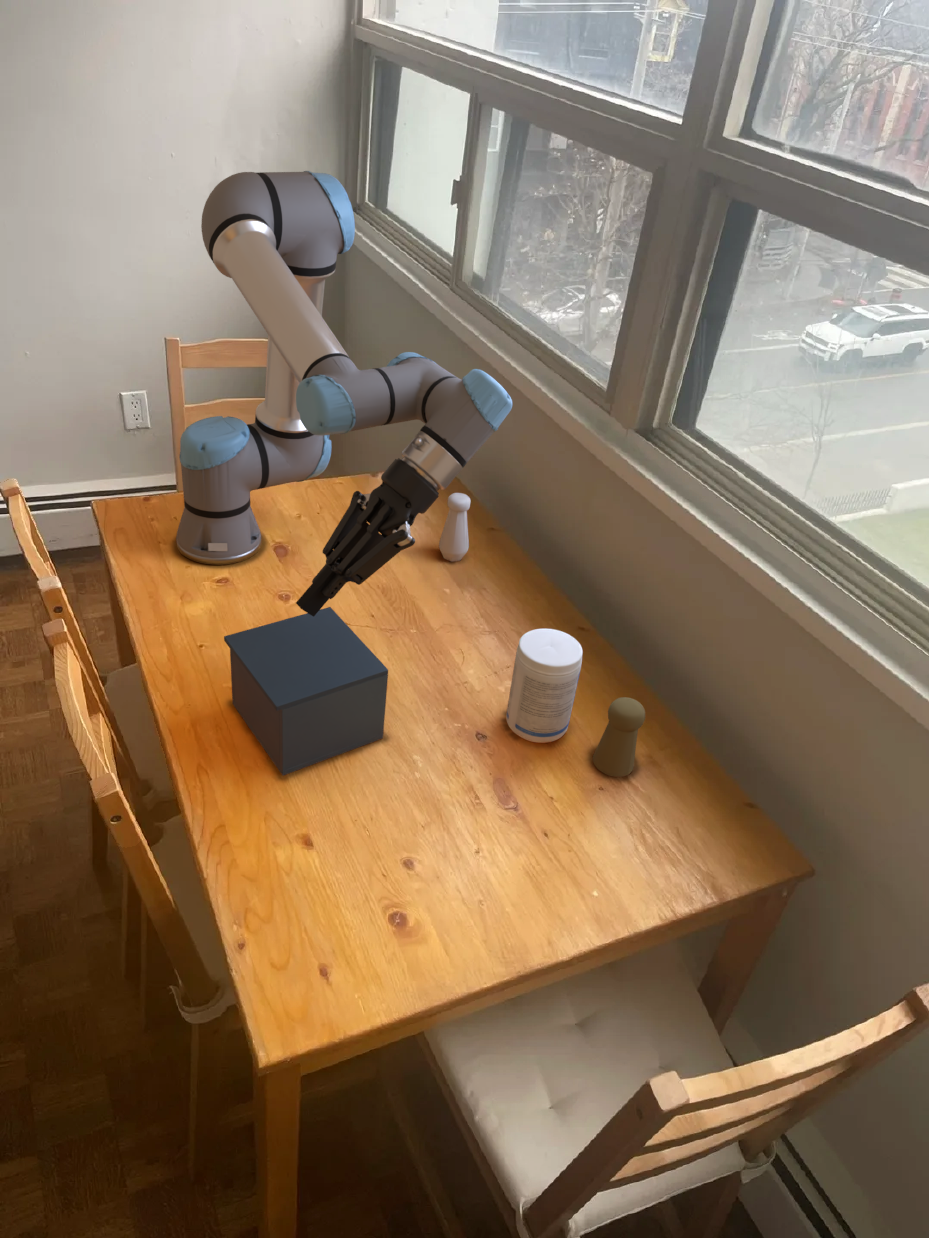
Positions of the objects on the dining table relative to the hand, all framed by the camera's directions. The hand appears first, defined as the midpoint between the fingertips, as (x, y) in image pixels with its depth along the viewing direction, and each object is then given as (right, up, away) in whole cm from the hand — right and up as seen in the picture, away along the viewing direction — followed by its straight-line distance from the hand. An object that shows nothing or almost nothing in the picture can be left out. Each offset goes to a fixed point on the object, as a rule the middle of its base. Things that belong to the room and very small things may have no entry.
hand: (304, 609), depth 120 cm
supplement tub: (+32, -17, +17) cm, 40 cm away
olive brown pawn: (+43, -22, +12) cm, 50 cm away
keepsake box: (-2, -16, +12) cm, 20 cm away
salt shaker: (+19, +11, +55) cm, 59 cm away
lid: (-1, -7, +5) cm, 8 cm away
